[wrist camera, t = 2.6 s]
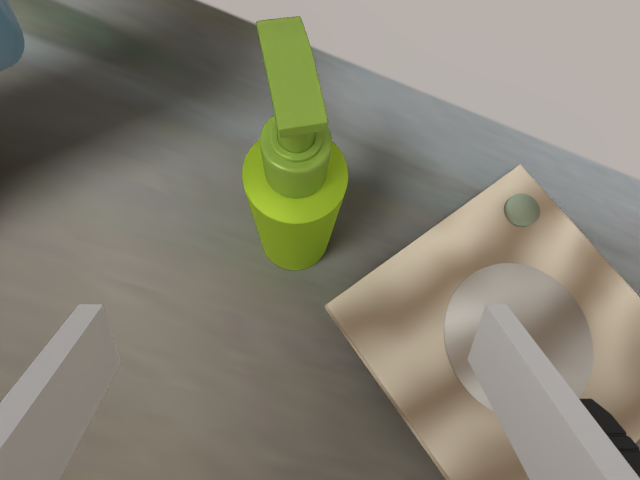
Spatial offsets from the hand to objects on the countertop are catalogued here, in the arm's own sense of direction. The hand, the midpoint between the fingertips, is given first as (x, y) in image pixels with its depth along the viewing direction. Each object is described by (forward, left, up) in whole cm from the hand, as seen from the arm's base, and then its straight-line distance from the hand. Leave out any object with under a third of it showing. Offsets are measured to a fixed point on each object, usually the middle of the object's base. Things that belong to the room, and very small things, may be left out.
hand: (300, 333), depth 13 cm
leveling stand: (+9, +13, -18) cm, 24 cm away
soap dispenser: (-8, +5, -18) cm, 21 cm away
